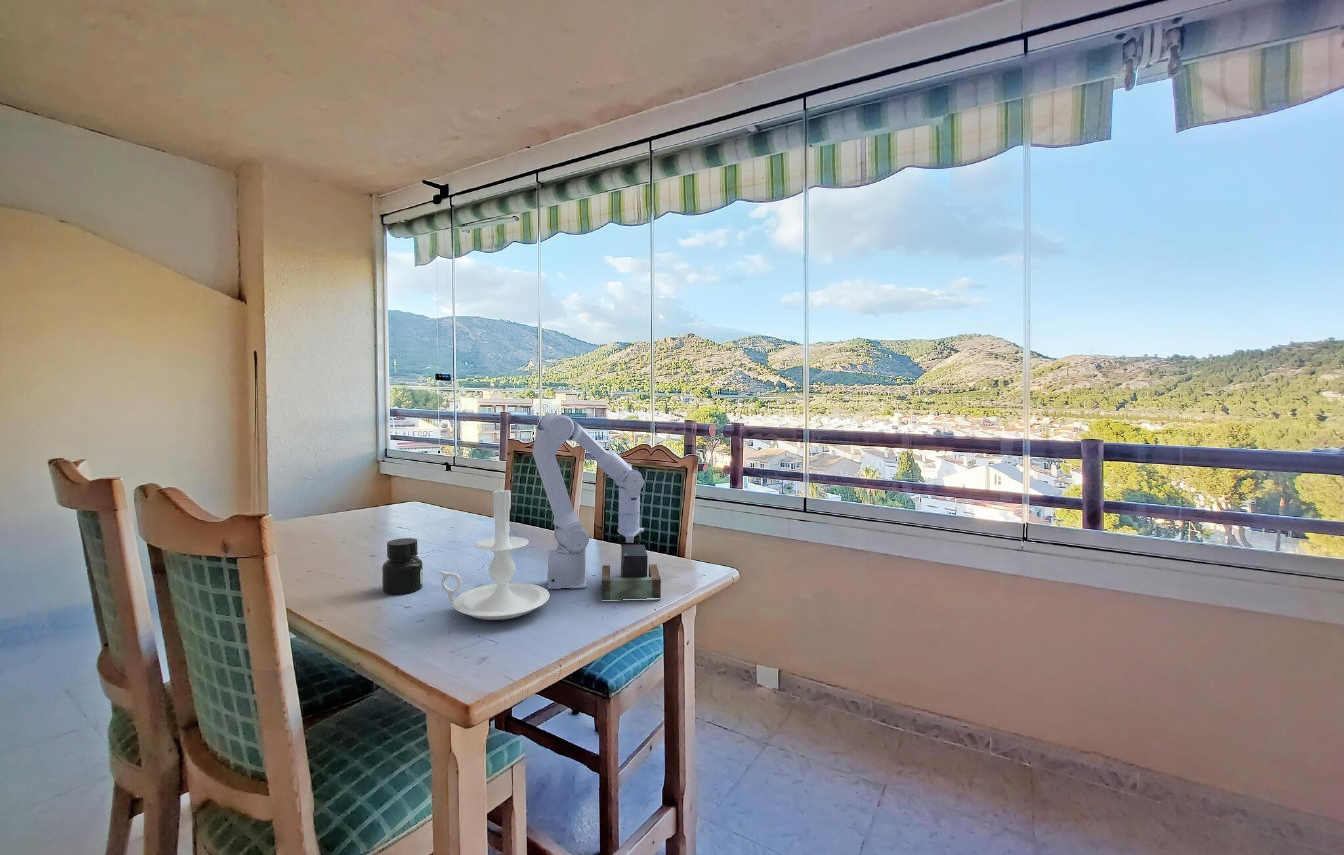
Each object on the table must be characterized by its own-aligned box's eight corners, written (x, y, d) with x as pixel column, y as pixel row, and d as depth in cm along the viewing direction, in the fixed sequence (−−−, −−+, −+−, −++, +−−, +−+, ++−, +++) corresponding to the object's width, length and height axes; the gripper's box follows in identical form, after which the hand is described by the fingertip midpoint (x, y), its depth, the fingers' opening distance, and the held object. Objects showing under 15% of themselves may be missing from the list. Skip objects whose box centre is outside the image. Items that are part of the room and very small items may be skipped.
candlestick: (460, 593, 134) (460, 479, 133) (560, 597, 133) (560, 481, 131) (415, 627, 114) (414, 493, 112) (532, 633, 112) (532, 497, 111)
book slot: (601, 601, 130) (601, 580, 130) (602, 584, 142) (602, 565, 142) (660, 600, 131) (660, 579, 131) (656, 583, 143) (656, 564, 143)
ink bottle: (431, 586, 138) (431, 539, 138) (401, 598, 130) (400, 548, 130) (404, 581, 142) (403, 535, 142) (373, 591, 134) (372, 543, 134)
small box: (648, 597, 133) (648, 554, 133) (621, 598, 132) (621, 555, 132) (644, 583, 144) (645, 543, 143) (619, 583, 143) (620, 543, 142)
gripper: (645, 518, 142) (644, 570, 143) (642, 507, 157) (642, 554, 158) (618, 518, 142) (617, 570, 142) (617, 507, 156) (617, 554, 157)
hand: (628, 562), depth 150 cm, fingers closed
